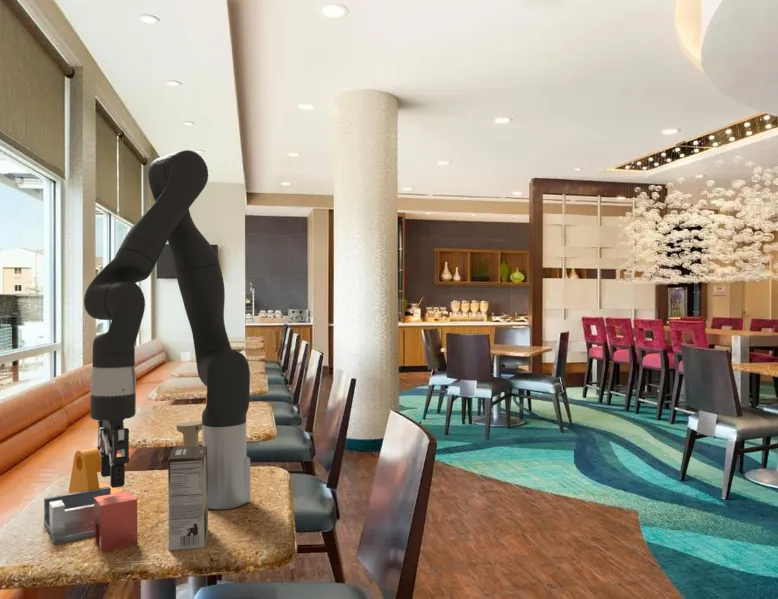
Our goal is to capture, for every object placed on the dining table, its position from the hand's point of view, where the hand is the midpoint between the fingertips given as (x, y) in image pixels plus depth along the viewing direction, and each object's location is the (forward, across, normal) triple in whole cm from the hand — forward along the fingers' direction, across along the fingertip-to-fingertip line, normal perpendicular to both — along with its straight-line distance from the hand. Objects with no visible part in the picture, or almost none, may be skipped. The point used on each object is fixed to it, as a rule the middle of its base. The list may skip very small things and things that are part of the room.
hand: (112, 481), depth 112 cm
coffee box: (+11, -7, -12) cm, 18 cm away
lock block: (+11, 0, -1) cm, 11 cm away
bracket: (+11, +27, -2) cm, 29 cm away
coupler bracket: (+11, +12, +3) cm, 17 cm away
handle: (+11, +25, -22) cm, 35 cm away
